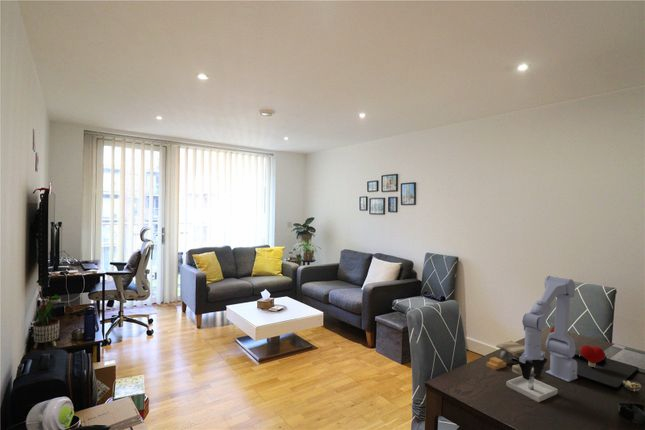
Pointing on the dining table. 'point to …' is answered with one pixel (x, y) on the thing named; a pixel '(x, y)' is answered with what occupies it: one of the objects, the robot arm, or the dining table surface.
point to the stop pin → (531, 382)
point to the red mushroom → (592, 354)
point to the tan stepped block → (495, 363)
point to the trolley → (510, 351)
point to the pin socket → (519, 369)
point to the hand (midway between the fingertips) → (531, 376)
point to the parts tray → (538, 394)
